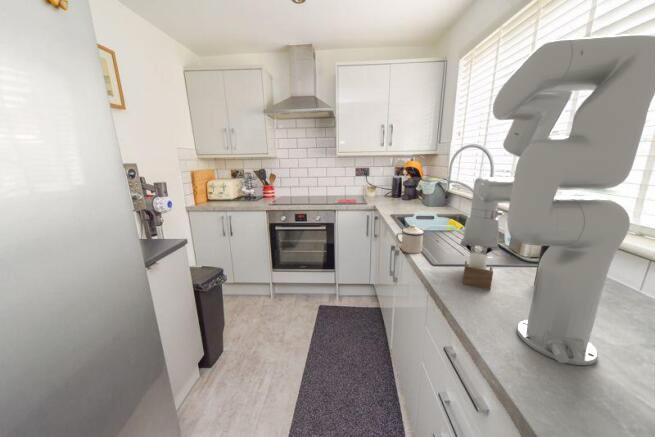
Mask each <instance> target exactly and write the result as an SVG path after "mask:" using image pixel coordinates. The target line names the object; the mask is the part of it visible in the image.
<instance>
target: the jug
mask: <svg viewBox="0 0 655 437" xmlns="http://www.w3.org/2000/svg"><path fill="white" fill-rule="evenodd" d="M487 261H488V253H487V254H486V253H483V252H481V251H480V250H475V251H472V252H470V251H469V260H468V266H469V267H475V268H480V269H486V270H487Z"/></svg>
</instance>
